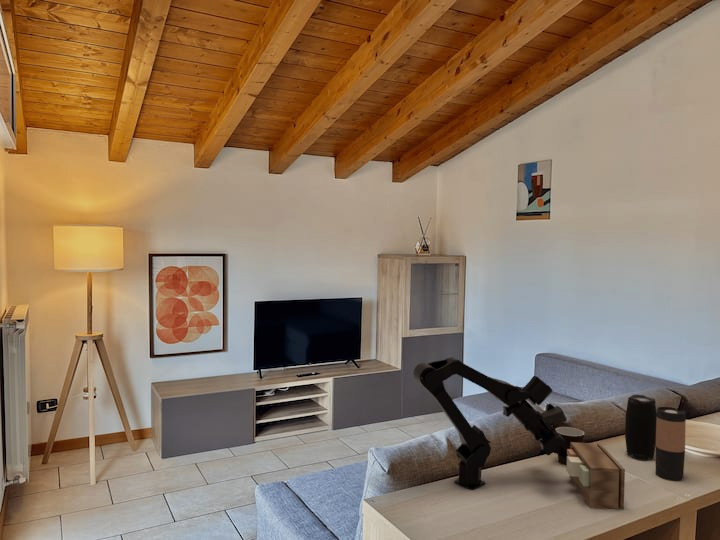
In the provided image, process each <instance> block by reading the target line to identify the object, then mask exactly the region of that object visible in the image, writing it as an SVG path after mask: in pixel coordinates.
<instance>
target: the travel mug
mask: <svg viewBox="0 0 720 540" xmlns="http://www.w3.org/2000/svg"><path fill="white" fill-rule="evenodd" d="M656 412H657V421H656V447H655V474H656V476H657V477H659V478H660V479H663V480H667V481H672V482H681V481H683V480H682V479H684V471H685V458H686V457H685V455H686V422H687V421H686V419H687V418H686V417H687V415H686V411H685V410H678V409H677V408H676V407H672V406H659V407H656Z"/></svg>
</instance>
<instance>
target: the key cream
mask: <svg viewBox="0 0 720 540" xmlns="http://www.w3.org/2000/svg"><path fill="white" fill-rule="evenodd" d="M579 465H583V460H582V459H581V457H567V466H566V472H567V474H568V475H569V477H570V476H574V477H579Z"/></svg>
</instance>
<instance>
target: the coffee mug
mask: <svg viewBox="0 0 720 540" xmlns="http://www.w3.org/2000/svg"><path fill="white" fill-rule="evenodd" d="M555 430H556V431H557V433H559V435H560V436H561V437H562V438H563V439H564V443H563V444H562V447H563V448H564V450H565V451H566V453H567V449H570V442H577V443H584V439H585V431H583V430H581V429H578V428H575V427H570V426H559V427H556V428H555ZM557 459H558V460H557V462H558V463H559V464H560V463H561V464H560V465H562V464H563V466H565V465H567V457H563V456H561V455H558V454H557Z"/></svg>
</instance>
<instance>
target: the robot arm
mask: <svg viewBox="0 0 720 540" xmlns="http://www.w3.org/2000/svg"><path fill="white" fill-rule="evenodd" d="M412 375H413V378H414V379H415V381H416V382H418V383H419V384H420V385H421V387H422V388H424V389H425V391H427V392H428V393H429V394H430V395H431V396H432V397H433V398H434V400H435V402H436V403H437V404H438V406H439V407H440V408H441V410H442V411H443V412H444V414H445V416H446V417H447V418H448V420H449V421H450V423H451V424H452V425H453V427H454V428H455V430H456V431H457V433H458V436H459V439H460V442H461V444H460V445H459V446H458V448H456V450H455V451H454V452H455V454H456V457H457V458H458V459H459V460H460V461H459V463H458V478H457V479H455V480H454V484H457V485H459V486H462V487H464V488H466V489H469V490H471V491H472V490H476V489H477V488H479V487H481V486H484V485H485V484H486V481H484V480H482V468H484V467H485V464H486V462H487V459H488V457H489V456H490V454H491V451H492V447H491V445H490V443H491V441H490V440H489V439H487V437H486V435H485V433H484V431H483V430H482V429H480V428H479V427H478V426H477V425H475V424H473V425H471V424H470V423H469V421H468V420H467V419H466V417H465V416H464V414H463V413H462V411H461V410H460V409H459V407H458V406H457V404H456V403H455V402H454V400H453V399H452V397H451V396H450V395H449V392H447V390H446V387H445V384H444V381H445V380H448V379H449V378H451V377H452V376H455V375H458V376H459V377H462V378H463V379H464V380H465V379H466V380H467V381H468V382H471V383H473V384H475V385H477V386H478V387H480V388H482V389H484V390H486V391H487V392H488V393H489V394H490V395H492V396H493V397H494V398H495V399H496V400H498V401H499V402H502V403H503V404H505V405H503V406H502V408H503V409H502V411H503V412H502V415H503V416H506V417H507V418H508V417H510V415H513V417H514V418H516V420H517V421H518V422H519V423H520V424H521V425H522V426H523V427H524V429H525V430H526V431H527V432H529V433H530V434H531V435H532V436H533V438H534V439H535V440H536V441H537V442H539V445H540V448H541V450H542V452H543V453H544V454H545V455H547V456H551V455H552V454H553V453H554V454H556V455H557V456H558V455H561V456H563V457H567V456H568V454H567V453H566V451H565V450H564V448H563V447H562V444H563V443H564V439H563V438H562V437H561V436H560V435H559V433H557V431H556V430H555V429H556V428H555V427H554V426H555V425H559V424H561V423H565V422H566V421H567V420H568V419H567V416H566V414H565V413H564V410H563V409H562V408H561V406H558V405H553V404H552V403H548V404H546V405H545V410H544V411H543V412H540V410H536V409H535V408H534V407H533V406H536V405H537V406H540V405H541V404H543V402H544V401H545V400H546V399H547V398H548V397H549V396H550V395H551V394H552V393H553V392H554V391H553V389H552V388H551V386H550V385H549V384H547V383H545V382H544V380H542V379H540V377H538V376H536V375H533V376H532V377H531V378H530V380H529V381H528V382H527V383H526V385H525V386H523V388H522V387H520V386H518V385H513V384H511V383H509V382H507V381H504V380H501V379H498V378H495V377H491V376H488V375H486V374H484V373H482V372H480V371H479V370H477V369H474V368H472V367H471V366H469V365H467V364H465V363H464V362H462V361H461V360H460V359H458V358H456V357H453V356H452V357H450V356H449V357H447V358H445V359H440V360H435V361H431V362H428V363H426V362H420V363H418V364H417V365H415V367H414V370H413V374H412ZM532 405H533V406H532Z"/></svg>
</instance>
